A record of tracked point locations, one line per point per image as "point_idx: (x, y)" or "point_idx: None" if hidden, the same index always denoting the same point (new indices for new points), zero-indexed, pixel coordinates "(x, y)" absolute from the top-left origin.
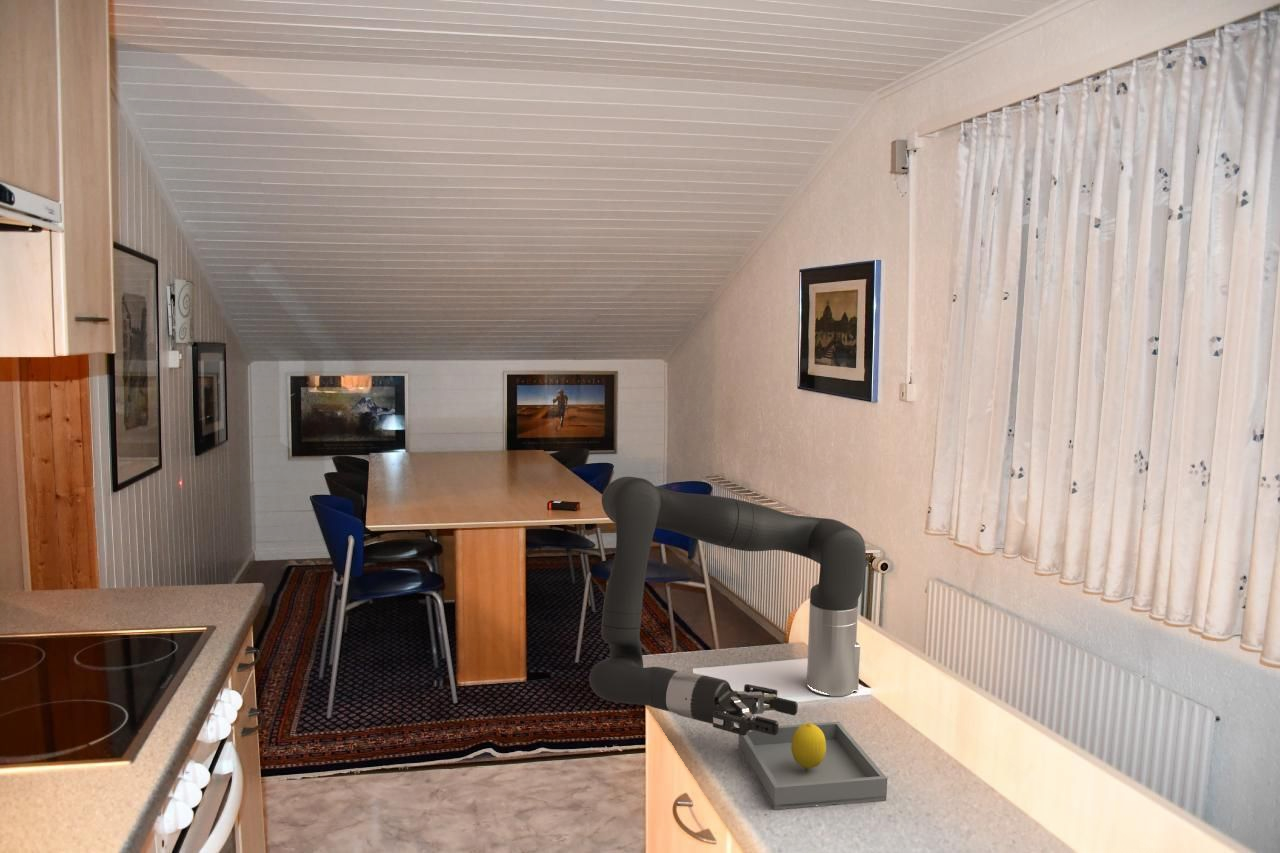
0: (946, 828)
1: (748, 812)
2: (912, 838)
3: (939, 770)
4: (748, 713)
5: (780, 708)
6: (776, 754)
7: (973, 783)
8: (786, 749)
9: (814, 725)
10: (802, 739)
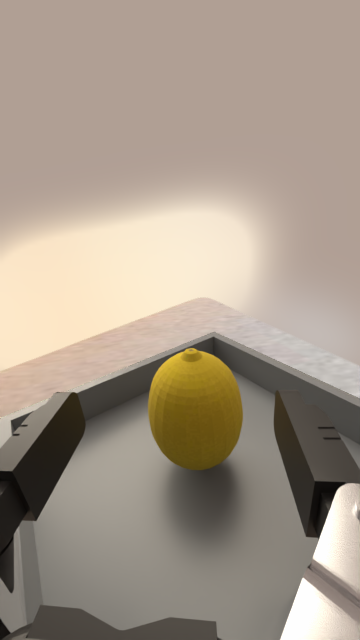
0: (235, 324)
1: None
2: (278, 334)
3: (112, 344)
4: (348, 558)
5: (47, 477)
6: (142, 584)
7: (133, 326)
8: (94, 558)
9: (181, 353)
10: (235, 382)
